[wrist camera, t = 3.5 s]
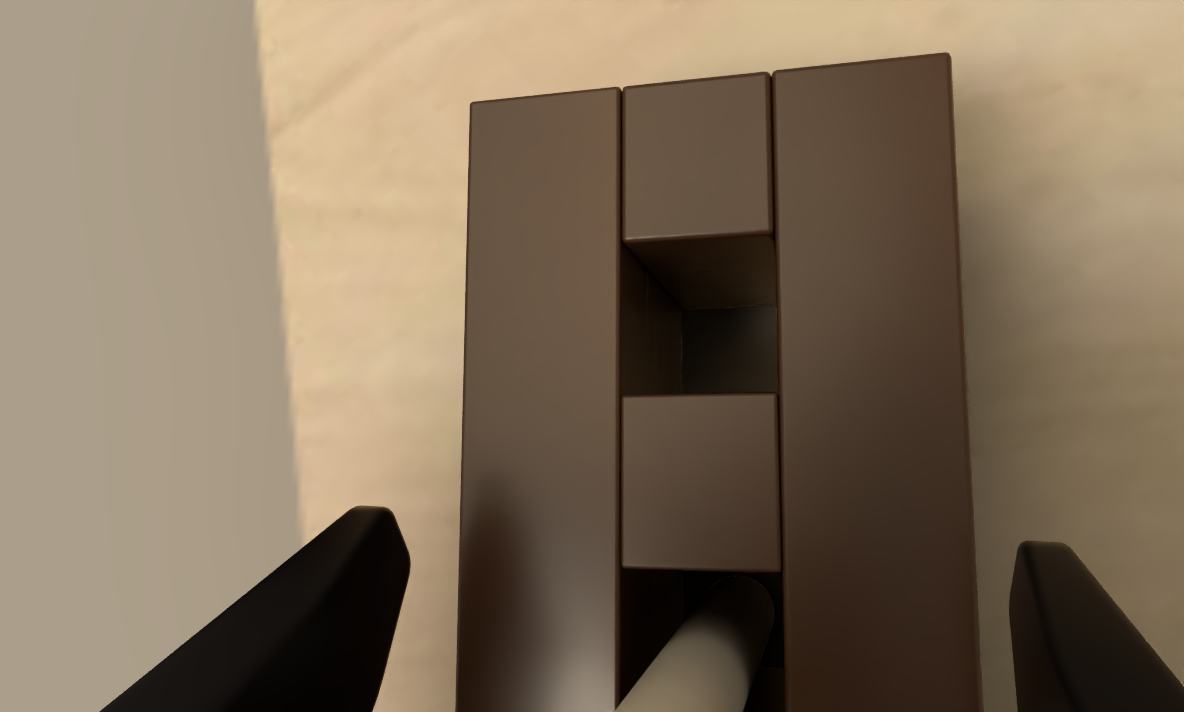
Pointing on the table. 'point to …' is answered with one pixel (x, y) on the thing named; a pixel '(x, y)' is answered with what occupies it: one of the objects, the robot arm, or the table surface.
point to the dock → (718, 420)
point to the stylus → (709, 653)
